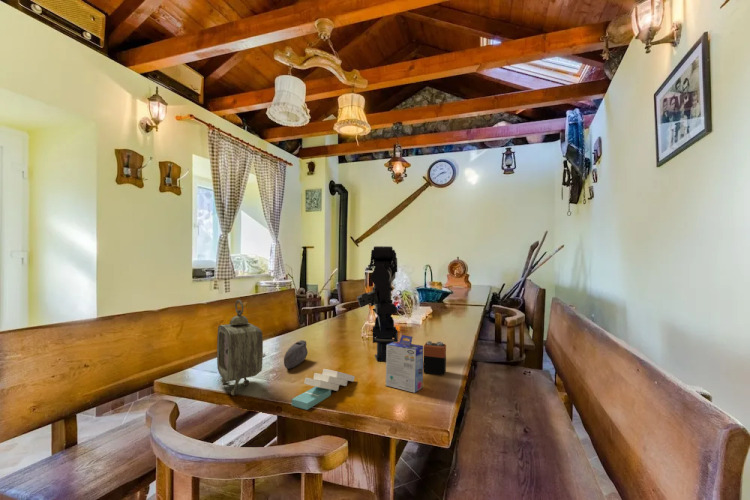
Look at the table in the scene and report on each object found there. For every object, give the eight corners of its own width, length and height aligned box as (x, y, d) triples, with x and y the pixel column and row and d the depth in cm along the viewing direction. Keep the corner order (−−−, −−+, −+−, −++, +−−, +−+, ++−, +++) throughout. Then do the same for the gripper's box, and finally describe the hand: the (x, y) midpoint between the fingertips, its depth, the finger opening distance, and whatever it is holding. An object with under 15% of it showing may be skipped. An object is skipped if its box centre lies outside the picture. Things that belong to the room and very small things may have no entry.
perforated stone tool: (292, 373, 107) (292, 351, 107) (277, 371, 108) (277, 350, 108) (310, 358, 122) (310, 339, 122) (297, 357, 123) (297, 339, 123)
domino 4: (341, 373, 103) (323, 368, 95) (354, 376, 100) (338, 371, 93) (339, 378, 102) (321, 374, 94) (353, 382, 100) (336, 377, 92)
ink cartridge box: (424, 387, 96) (424, 337, 96) (415, 393, 92) (416, 341, 92) (394, 380, 102) (394, 332, 102) (385, 386, 97) (385, 336, 97)
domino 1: (324, 381, 96) (305, 377, 88) (339, 384, 94) (321, 380, 85) (323, 387, 95) (303, 383, 87) (337, 391, 93) (319, 387, 85)
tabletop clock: (216, 382, 98) (218, 298, 99) (247, 376, 104) (249, 296, 104) (228, 399, 87) (230, 304, 87) (263, 391, 92) (264, 301, 93)
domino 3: (333, 377, 99) (314, 372, 91) (347, 380, 97) (329, 375, 89) (332, 383, 99) (313, 378, 91) (346, 386, 96) (327, 382, 88)
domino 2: (316, 385, 93) (291, 398, 84) (331, 389, 90) (307, 403, 81) (316, 391, 93) (291, 405, 84) (330, 395, 90) (307, 410, 81)
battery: (444, 376, 105) (444, 344, 106) (423, 373, 108) (423, 342, 108) (446, 371, 110) (446, 341, 110) (425, 369, 112) (425, 339, 112)
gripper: (356, 282, 118) (355, 326, 117) (361, 286, 99) (360, 338, 99) (387, 282, 119) (386, 325, 119) (397, 286, 101) (397, 337, 101)
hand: (382, 331), depth 109 cm, fingers closed
